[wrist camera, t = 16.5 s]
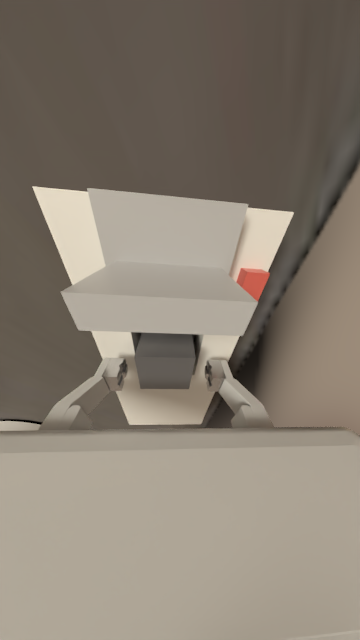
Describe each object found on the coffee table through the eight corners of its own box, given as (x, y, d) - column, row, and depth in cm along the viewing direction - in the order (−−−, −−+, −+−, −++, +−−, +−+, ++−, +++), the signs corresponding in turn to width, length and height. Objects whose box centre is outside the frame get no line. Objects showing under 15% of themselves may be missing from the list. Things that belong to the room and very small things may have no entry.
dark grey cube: (185, 352, 14) (188, 389, 11) (148, 351, 14) (140, 388, 11) (190, 322, 12) (195, 358, 9) (145, 320, 12) (134, 356, 9)
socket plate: (198, 407, 23) (201, 430, 20) (133, 407, 22) (127, 431, 20) (264, 215, 8) (308, 210, 5) (71, 197, 7) (11, 180, 5)
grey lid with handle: (212, 321, 9) (234, 378, 6) (122, 317, 9) (87, 376, 5) (242, 206, 6) (346, 174, 2) (95, 191, 5) (-58, 124, 2)
